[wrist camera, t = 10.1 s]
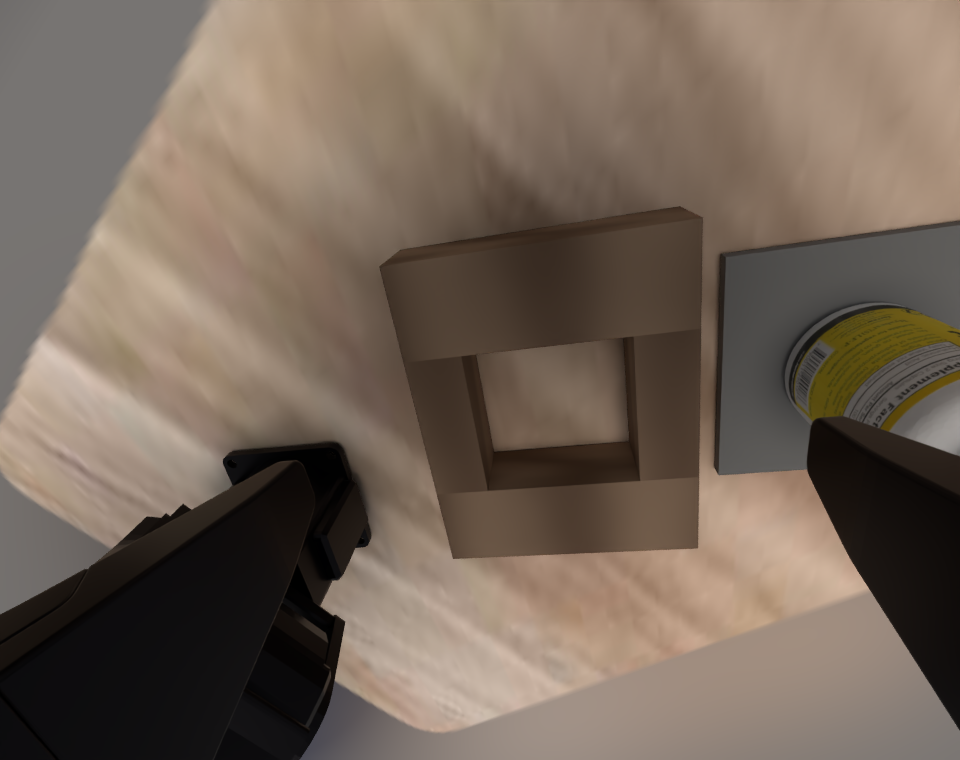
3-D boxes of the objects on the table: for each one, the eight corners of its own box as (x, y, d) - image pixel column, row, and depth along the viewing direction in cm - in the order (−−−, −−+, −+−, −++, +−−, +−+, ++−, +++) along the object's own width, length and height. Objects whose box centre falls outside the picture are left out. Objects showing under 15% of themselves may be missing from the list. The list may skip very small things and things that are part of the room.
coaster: (714, 467, 23) (718, 475, 23) (720, 253, 19) (725, 256, 19) (959, 450, 22) (969, 458, 21) (1023, 212, 18) (1038, 214, 17)
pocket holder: (462, 516, 26) (453, 558, 24) (400, 249, 21) (379, 266, 18) (681, 503, 25) (698, 548, 22) (680, 206, 19) (702, 217, 16)
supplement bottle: (952, 379, 20) (1277, 570, 11) (813, 443, 22) (996, 650, 13) (902, 268, 18) (1234, 389, 10) (757, 347, 20) (922, 509, 11)
